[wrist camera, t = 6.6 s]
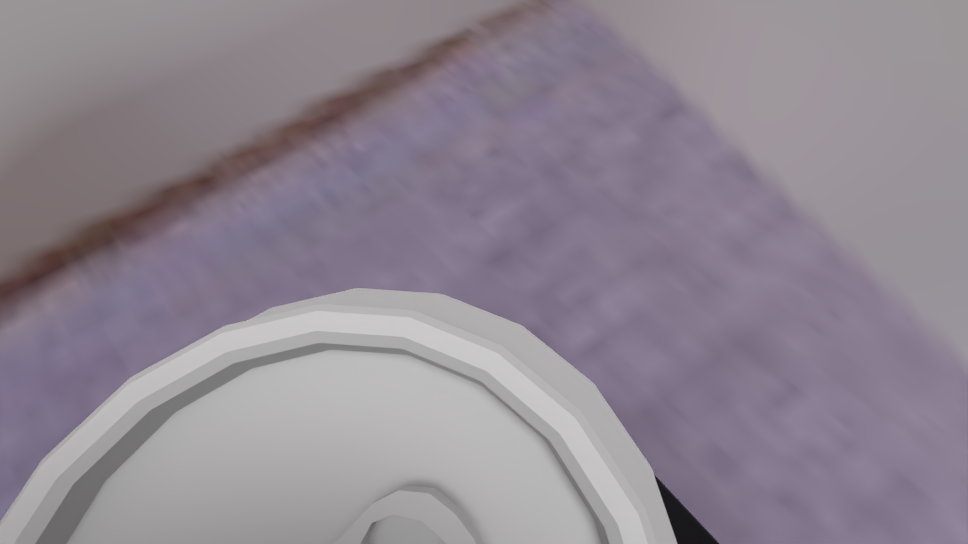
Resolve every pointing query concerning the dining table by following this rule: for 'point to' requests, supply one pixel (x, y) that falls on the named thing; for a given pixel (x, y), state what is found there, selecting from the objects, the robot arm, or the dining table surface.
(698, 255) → the dining table surface
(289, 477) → the can
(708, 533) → the robot arm
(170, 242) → the dining table surface
